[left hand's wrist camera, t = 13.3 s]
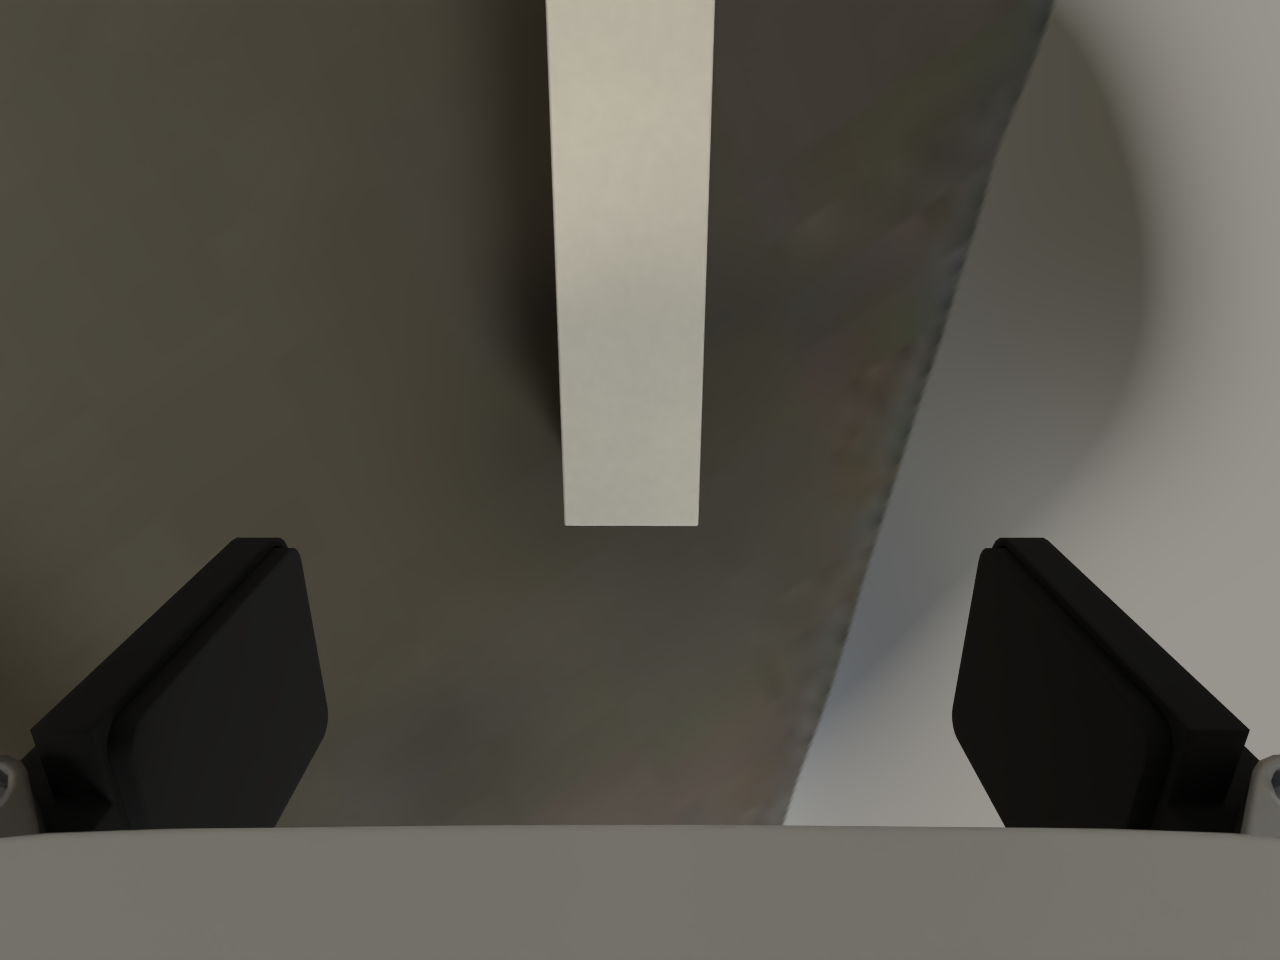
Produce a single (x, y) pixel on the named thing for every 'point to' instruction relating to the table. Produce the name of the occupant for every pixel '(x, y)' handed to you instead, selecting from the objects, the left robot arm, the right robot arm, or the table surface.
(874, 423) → the table surface
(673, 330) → the post
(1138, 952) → the left robot arm
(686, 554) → the table surface
